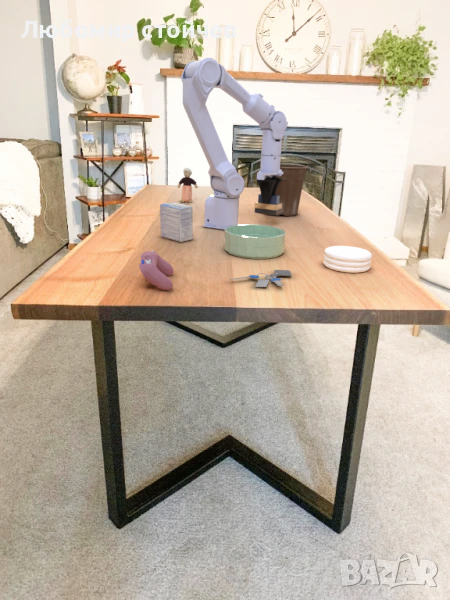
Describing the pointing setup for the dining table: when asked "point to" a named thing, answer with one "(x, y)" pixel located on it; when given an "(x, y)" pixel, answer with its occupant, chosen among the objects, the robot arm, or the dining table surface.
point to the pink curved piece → (156, 270)
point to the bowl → (254, 241)
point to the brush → (268, 206)
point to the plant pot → (290, 188)
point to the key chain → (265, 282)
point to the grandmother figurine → (187, 186)
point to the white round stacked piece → (347, 259)
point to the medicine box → (176, 221)
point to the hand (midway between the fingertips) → (267, 202)
